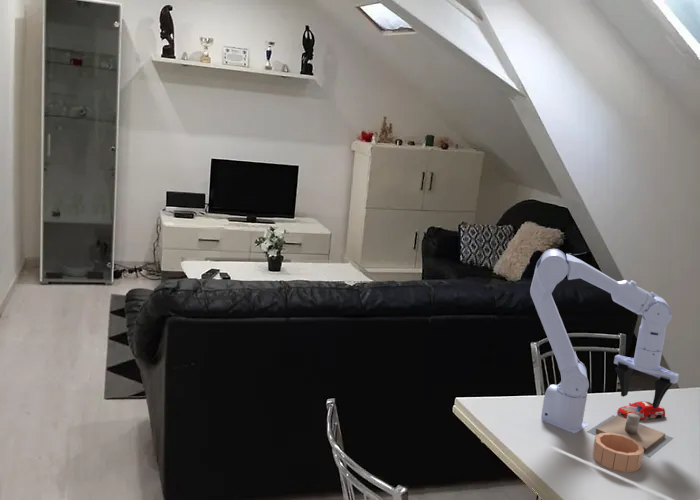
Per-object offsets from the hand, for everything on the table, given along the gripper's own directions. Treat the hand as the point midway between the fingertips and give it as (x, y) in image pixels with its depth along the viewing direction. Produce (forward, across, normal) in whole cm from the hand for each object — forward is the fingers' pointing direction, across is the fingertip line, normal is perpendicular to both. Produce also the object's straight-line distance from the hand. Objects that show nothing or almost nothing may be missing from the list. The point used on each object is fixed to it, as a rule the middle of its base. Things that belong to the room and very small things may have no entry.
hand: (639, 401), depth 161 cm
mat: (+10, +1, 0) cm, 10 cm away
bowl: (+10, -3, +15) cm, 18 cm away
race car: (+10, +4, -13) cm, 17 cm away
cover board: (+9, +1, 0) cm, 9 cm away
